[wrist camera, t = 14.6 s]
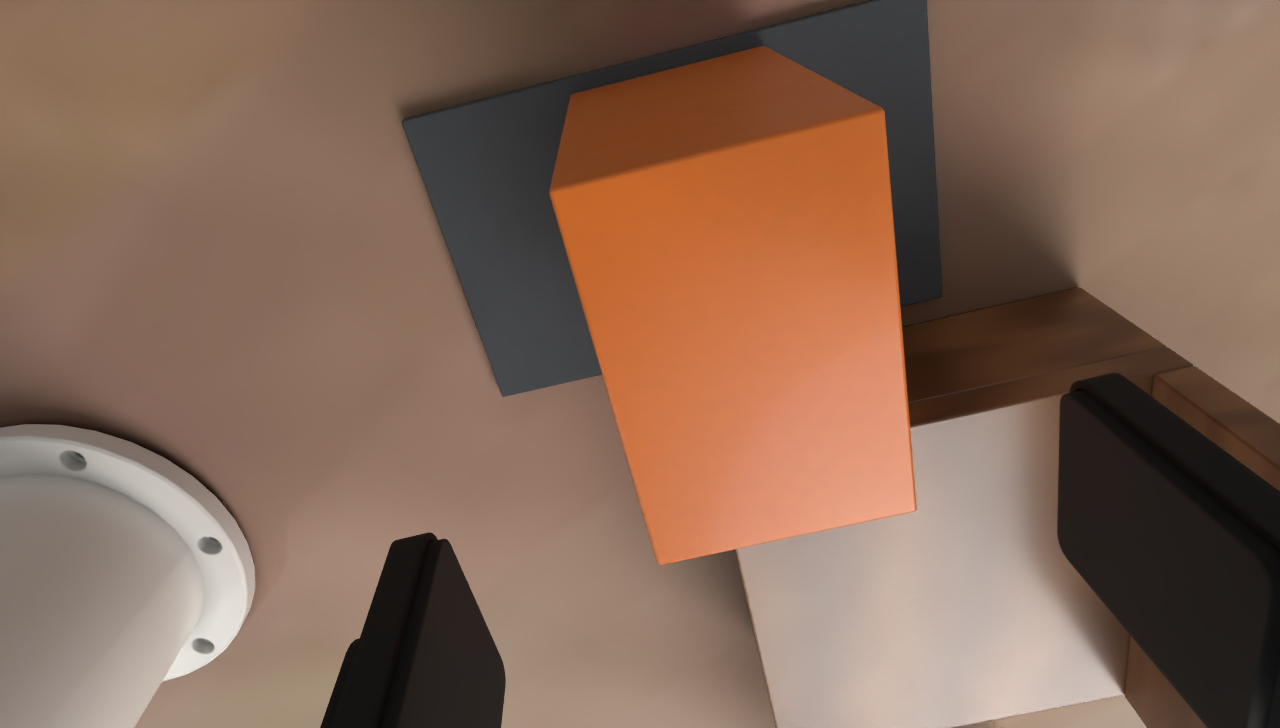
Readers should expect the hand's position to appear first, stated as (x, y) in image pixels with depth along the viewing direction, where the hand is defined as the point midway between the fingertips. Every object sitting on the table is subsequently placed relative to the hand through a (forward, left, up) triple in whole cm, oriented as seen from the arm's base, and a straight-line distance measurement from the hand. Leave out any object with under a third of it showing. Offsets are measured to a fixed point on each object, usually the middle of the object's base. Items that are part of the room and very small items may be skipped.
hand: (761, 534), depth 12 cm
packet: (+1, 0, -16) cm, 16 cm away
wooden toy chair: (+7, -13, -16) cm, 21 cm away
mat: (+1, 0, -16) cm, 16 cm away
